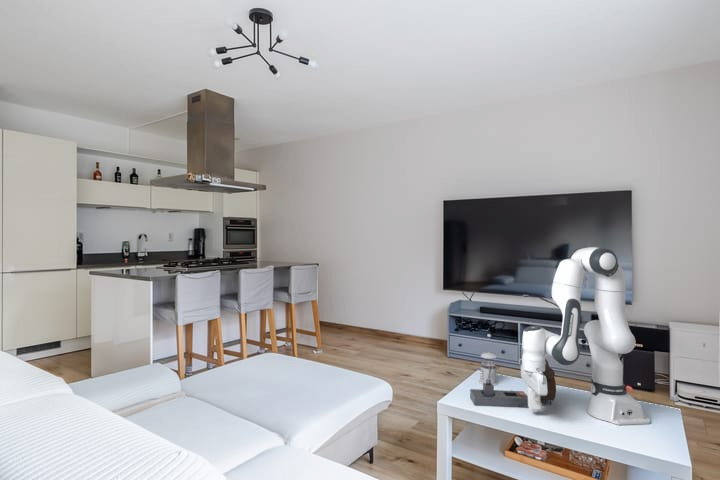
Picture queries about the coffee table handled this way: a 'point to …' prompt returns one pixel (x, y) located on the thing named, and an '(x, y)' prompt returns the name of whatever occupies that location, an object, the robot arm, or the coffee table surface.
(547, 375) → the alarm clock
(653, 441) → the coffee table surface
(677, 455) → the coffee table surface
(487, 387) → the twin plug
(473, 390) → the strip
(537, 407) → the white rectangular bottle
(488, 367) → the french press
